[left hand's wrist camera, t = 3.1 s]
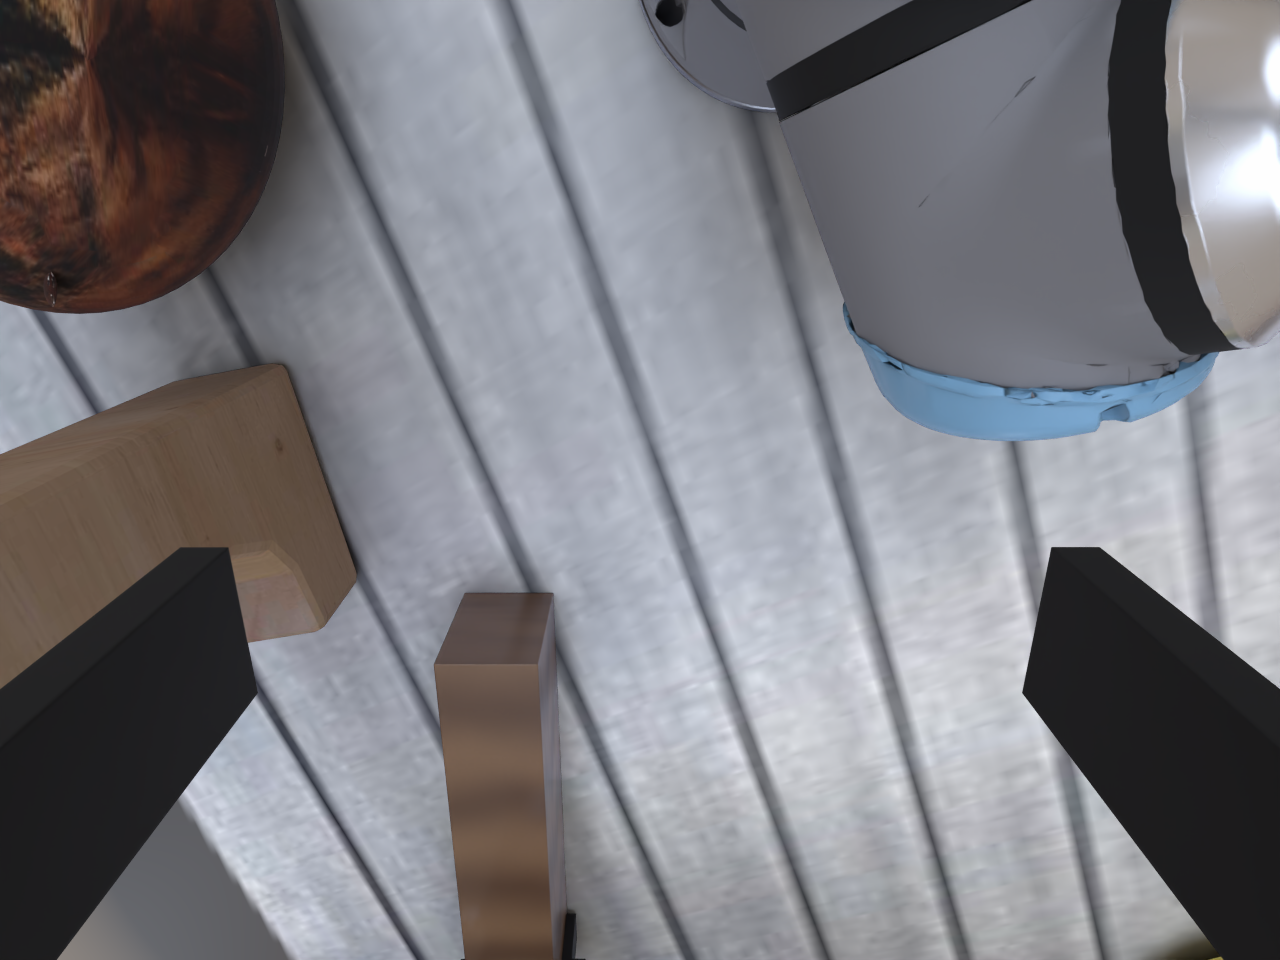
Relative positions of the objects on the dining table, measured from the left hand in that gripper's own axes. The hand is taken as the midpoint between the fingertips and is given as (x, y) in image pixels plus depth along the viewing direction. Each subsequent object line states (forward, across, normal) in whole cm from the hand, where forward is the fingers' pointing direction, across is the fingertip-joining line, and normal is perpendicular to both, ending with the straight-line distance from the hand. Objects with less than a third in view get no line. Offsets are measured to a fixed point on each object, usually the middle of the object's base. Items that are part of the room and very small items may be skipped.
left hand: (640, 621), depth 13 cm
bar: (+36, -9, -35) cm, 51 cm away
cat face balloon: (+36, -25, +12) cm, 45 cm away
